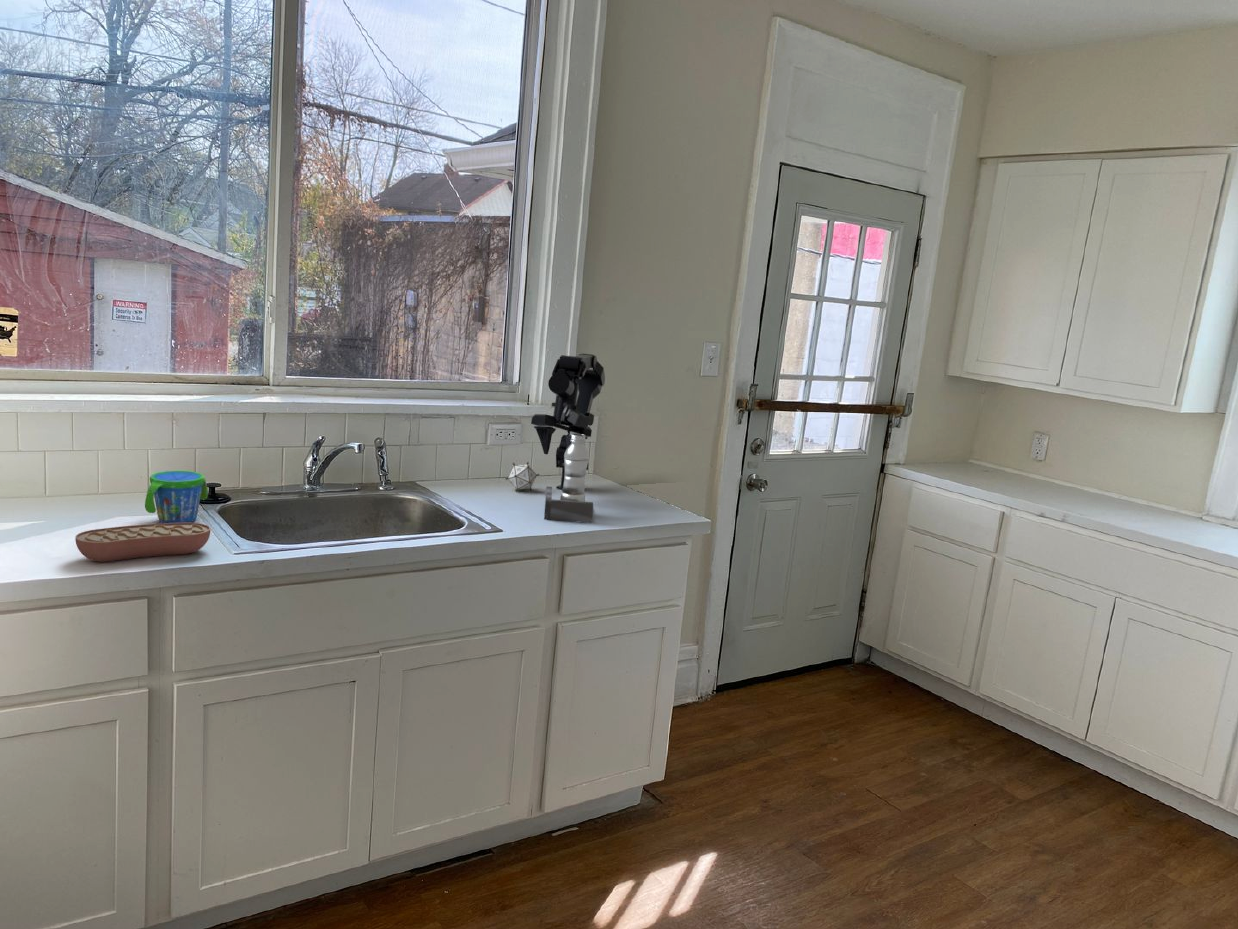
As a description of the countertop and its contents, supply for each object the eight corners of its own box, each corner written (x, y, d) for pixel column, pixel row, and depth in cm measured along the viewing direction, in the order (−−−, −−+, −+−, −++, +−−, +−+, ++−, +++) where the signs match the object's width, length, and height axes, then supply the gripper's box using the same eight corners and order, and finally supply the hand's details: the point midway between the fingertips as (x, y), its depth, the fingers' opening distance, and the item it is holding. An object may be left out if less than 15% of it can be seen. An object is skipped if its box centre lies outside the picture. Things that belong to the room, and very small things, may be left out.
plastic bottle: (553, 509, 232) (560, 433, 228) (571, 506, 237) (577, 431, 234) (572, 515, 228) (578, 438, 224) (589, 511, 233) (596, 436, 230)
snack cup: (163, 532, 186) (163, 485, 185) (128, 523, 190) (127, 476, 189) (224, 518, 201) (224, 474, 199) (189, 510, 205) (190, 466, 203)
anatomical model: (79, 571, 161) (79, 544, 160) (72, 555, 168) (71, 529, 167) (215, 557, 175) (215, 532, 174) (202, 543, 182) (202, 519, 181)
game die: (514, 503, 255) (494, 474, 252) (527, 488, 262) (508, 460, 259) (536, 493, 250) (516, 464, 247) (549, 478, 257) (530, 450, 254)
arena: (545, 504, 241) (546, 486, 240) (589, 507, 242) (591, 489, 241) (544, 519, 225) (545, 500, 224) (591, 522, 226) (593, 503, 225)
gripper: (564, 393, 233) (555, 452, 232) (609, 408, 247) (601, 464, 246) (534, 393, 240) (525, 450, 239) (580, 407, 254) (572, 462, 253)
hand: (557, 457), depth 244 cm, fingers open, 9 cm apart
